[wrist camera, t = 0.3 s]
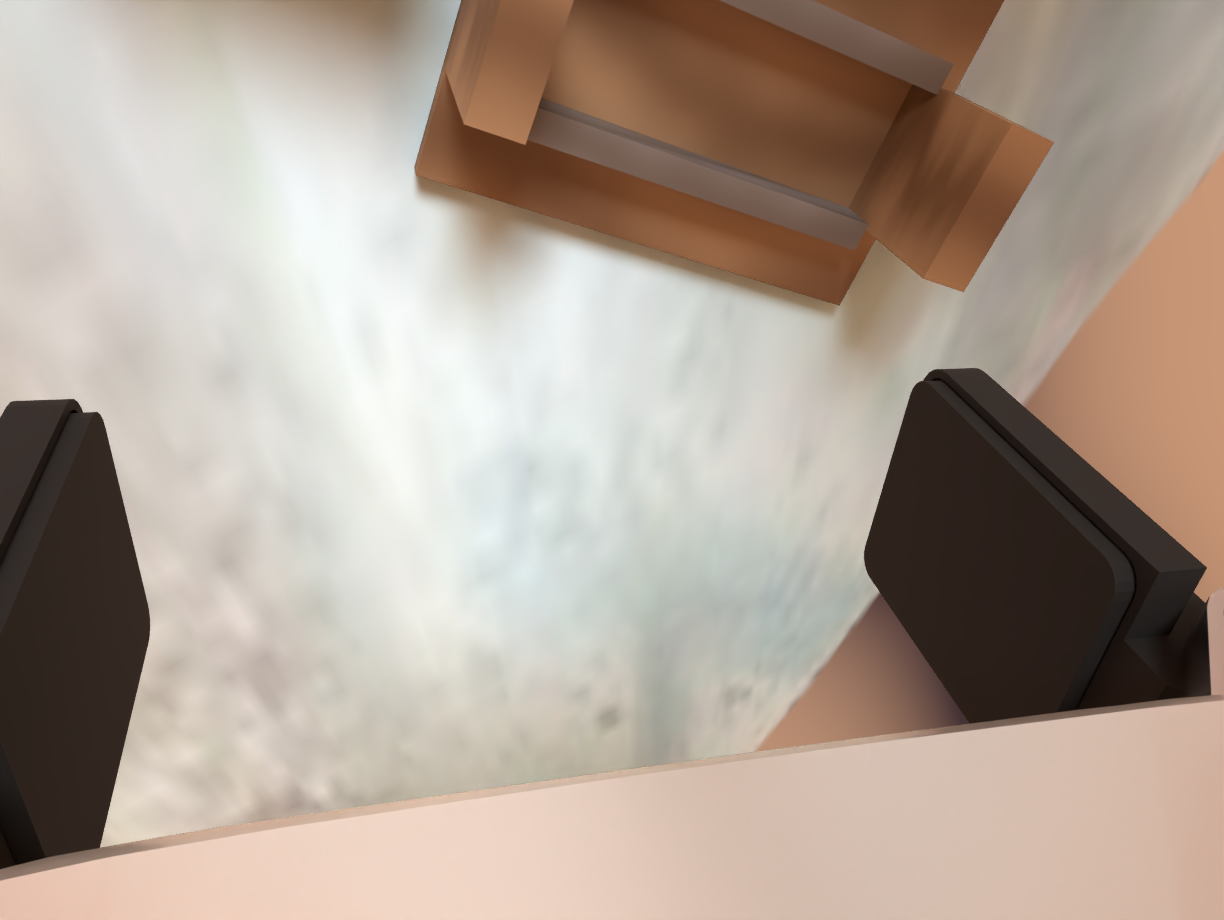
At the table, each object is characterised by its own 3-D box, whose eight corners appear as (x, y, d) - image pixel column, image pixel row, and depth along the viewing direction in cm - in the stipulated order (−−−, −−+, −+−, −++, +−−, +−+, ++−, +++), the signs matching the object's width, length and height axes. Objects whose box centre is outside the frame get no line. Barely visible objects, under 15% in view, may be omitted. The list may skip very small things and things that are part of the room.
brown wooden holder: (530, -245, 31) (577, -255, 24) (994, -11, 38) (1123, 28, 32) (414, 166, 37) (427, 243, 31) (830, 296, 45) (910, 379, 38)
